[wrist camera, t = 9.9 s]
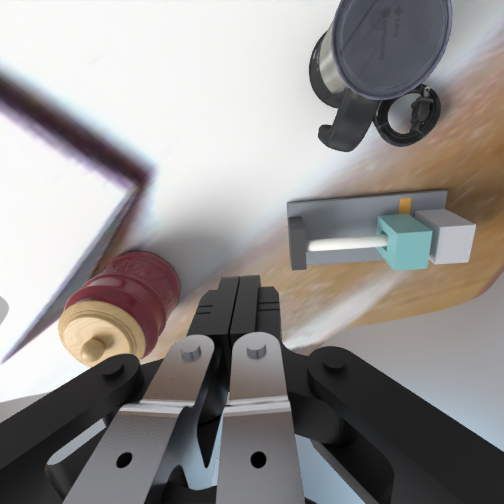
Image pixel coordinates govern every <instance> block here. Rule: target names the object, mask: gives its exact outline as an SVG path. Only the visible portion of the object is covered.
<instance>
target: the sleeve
mask: <svg viewBox="0 0 504 504" xmlns="http://www.w3.org/2000/svg"><path fill="white" fill-rule="evenodd" d="M432 232H433V231H432V230H430V229H429V228H428V227H426V226H425V225H423V224H422V223H420V222H419V221H417V220H416V219H414V218H413V217H412V216H410V215H409V214H394V215H381V216H378V218H377V232H376V235H385V234H387V235H388V242H387V246H384V247H375V248H376V249H377V251H378V252H379V253H380V254H381V256H382V257H383V258H384V259H385V261H386V262H387V263H388V264H389V266H390V267H391V268H392V269H393V270H394V271H396V270H413V269H427V265H428V258H429V252H430V245H431V238H432Z"/></svg>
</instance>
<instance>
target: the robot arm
mask: <svg viewBox="0 0 504 504" xmlns="http://www.w3.org/2000/svg"><path fill="white" fill-rule="evenodd" d="M228 392H230V396H229V405H226V402H227V396H228ZM101 418H102V419H103V421H104V424H105V426H106V428H104V429H103V430H102V431H101V432H99V433H98V434H97V435H95V436H94V437H93V438H91V439H90V440H89V441H87V442H86V443H85V444H83V445H82V446H81V447H80V448H78V449H77V450H76V451H75V452H73V453H72V454H71V455H69V456H68V457H67V458H65V459H64V460H63V461H61V462H59V463H57V464H54V465H47V464H46V463H47V461H48V460H49V458H50V457H51V456H52V455H53V454H54V453H55V452H56V451H58V450H59V449H61V448H62V447H63V446H65V445H66V444H67V443H69V442H70V441H71V440H73V439H74V438H75V437H77V436H78V435H80V434H81V433H82V432H84V431H85V430H86V429H88V428H89V427H90V426H92V425H93V424H94V423H96V422H97V421H99V420H100V419H101ZM295 434H297V435H300V436H303V437H306V438H309V439H310V440H311V442H312V444H313V446H314V448H315V449H316V450H317V451H318V452H319V453H320V455H321V456H322V457H323V458H324V459H325V460H326V461H327V462H328V463H329V464H330V465H331V467H332V468H333V469H334V470H335V471H336V472H337V473H338V474H339V475H340V476H341V477H342V479H343V480H344V481H345V482H346V483H347V484H348V485H349V486H350V487H351V488H352V489H353V490H354V491H355V493H357V495H358V496H359V497H360V498H361V499H362V500H363V501H364V502H365V504H504V452H503V451H501V450H500V449H498V448H497V447H495V446H494V445H492V444H491V443H489V442H488V441H486V440H485V439H483V438H482V437H480V436H479V435H477V434H476V433H474V432H472V431H471V430H469V429H468V428H466V427H465V426H463V425H462V424H460V423H459V422H457V421H456V420H454V419H453V418H451V417H449V416H448V415H446V414H445V413H443V412H442V411H440V410H439V409H437V408H436V407H434V406H432V405H431V404H430V403H428V402H427V401H425V400H423V399H422V398H420V397H419V396H417V395H416V394H414V393H412V392H411V391H410V390H408V389H407V388H405V387H404V386H402V385H401V384H399V383H398V382H396V381H394V380H393V379H391V378H390V377H388V376H387V375H385V374H384V373H382V372H381V371H379V370H378V369H376V368H375V367H373V366H371V365H370V364H368V363H367V362H365V361H364V360H362V359H361V358H359V357H358V356H356V355H355V354H353V353H351V352H350V351H348V350H346V349H344V348H340V347H334V346H327V347H322V348H319V349H317V350H315V351H313V352H312V353H311V354H310V355H309V356H304V355H300V354H297V353H294V352H292V351H290V350H289V349H287V348H286V347H285V346H284V345H283V343H282V333H281V317H280V304H279V293H278V292H277V291H276V289H275V288H274V287H273V286H272V287H261V282H260V276H259V275H250V276H241V277H240V276H235V277H222V278H221V281H220V284H219V287H218V290H209V291H208V292H207V293H206V294H205V295H204V296H203V297H202V298H201V300H200V303H199V305H198V308H197V310H196V314H195V315H194V318H193V320H192V323H191V325H190V328H189V330H188V333H187V336H186V337H184V338H182V339H180V340H178V341H177V342H175V343H174V344H173V345H172V346H171V347H170V349H169V351H168V352H167V354H166V356H165V358H163V359H160V360H157V361H153V362H150V363H146V364H143V365H140V362H139V359H138V358H137V357H136V356H135V355H133V354H128V353H124V354H118V355H114V356H111V357H109V358H107V359H105V360H103V361H102V362H100V363H98V364H97V365H95V366H93V367H92V368H90V369H88V370H87V371H85V372H84V373H82V374H80V375H79V376H77V377H75V378H74V379H72V380H70V381H69V382H67V383H66V384H64V385H62V386H61V387H59V388H57V389H56V390H54V391H52V392H51V393H49V394H47V395H46V396H44V397H43V398H41V399H39V400H38V401H36V402H34V403H33V404H31V405H29V406H28V407H26V408H25V409H23V410H21V411H20V412H18V413H16V414H15V415H13V416H11V417H10V418H8V419H7V420H5V421H3V422H2V423H0V504H317V503H316V502H314V501H312V500H310V499H308V498H306V497H304V492H303V485H302V479H301V472H300V467H299V459H298V453H297V446H296V440H295ZM220 442H221V447H220V459H219V471H218V483H217V485H216V486H213V487H212V477H213V472H214V467H215V463H216V459H217V455H218V450H219V446H220Z"/></svg>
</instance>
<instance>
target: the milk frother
mask: <svg viewBox="0 0 504 504" xmlns="http://www.w3.org/2000/svg"><path fill="white" fill-rule="evenodd" d="M451 25H452V7H451V0H341V2H340V4H339V6H338V9H337V11H336V14H335V17H334V20H333V22H332V24H331V25H330V27H329V29H328V30H327V31H326V32H325V33H324V34H323V35H322V37H321V38H320V39H319V41H318V42H317V44H316V46H315V47H314V50H313V52H312V55H311V59H310V64H309V77H310V82H311V86H312V88H313V90H314V92H315V94H316V95H317V96H318V98H319V99H320V100H321V101H322V102H324V103H325V104H327V105H329V106H331V107H334V108H339V109H338V111H337V115H336V117H335V120H334V122H333V125H321V126H320V128H319V132H318V138H319V139H320V140H321V142H322V143H324V144H325V145H326V146H327V147H329V148H332V149H334V150H338V151H343V152H350V151H352V150H354V149H355V148H356V147H357V146H358V145H359V143H360V142H361V141H362V139H363V138H364V136H365V134H366V132H367V131H368V129H369V127H370V125H371V122H372V121H373V123H374V125H375V127H376V129H377V130H378V132H379V134H380V135H381V137H382V138H383V139H384V140H385V141H386V142H388V143H389V144H391V145H394V146H399V147H404V146H409V145H412V144H414V143H416V142H417V141H419V140H421V139H423V138H424V137H425V136H426V135H427V134H428V133H429V132H430V131H431V130H432V129H433V128H434V127H435V125H436V123H437V121H438V119H439V116H440V111H441V104H440V100H439V98H438V95H437V94H436V92H435V91H434V90H433V89H431V88H430V86H427V85H424V84H421V83H422V82H423V81H424V80H425V79H426V78H427V77H428V76H429V75H430V74H431V73H432V72H433V70H434V69H435V68H436V66H437V64H438V63H439V61H440V60H441V58H442V56H443V54H444V52H445V49H446V46H447V43H448V40H449V36H450V32H451ZM410 93H419V94H421V96H422V98H421V97H419V98H418V99H416V101H415V102H414V103H413V104H412V105H411V108H413V111H412V120H411V123H412V127H411V129H410V132H409V133H406V134H400V133H397V132H396V131H394V130H393V129H392V128H391V126H390V125H389V122H388V111H389V109H390V106H391V105H392V104H393V102H394V101H395V100H397V99H398V98H400V97H401V96H403V95H406V94H410ZM381 100H383V101H382V103H381V106H380V108H379V110H378V116H376V110H377V108H378V106H379V103H380V101H381ZM429 108H430V111H429V115H428V117H427V119H426V115H427V112H428V110H429ZM423 122H424V124H422V123H423Z"/></svg>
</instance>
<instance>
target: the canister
mask: <svg viewBox="0 0 504 504" xmlns="http://www.w3.org/2000/svg"><path fill="white" fill-rule="evenodd" d="M179 294H180V283H179V279H178V276H177V274H176V272H175V271H174V269H173V268H172V267H171V266H170V265H169V264H168V263H167V262H166V261H165V260H163V259H162V258H160V257H159V256H157V255H155V254H152V253H149V252H144V251H131V252H127V253H124V254H122V255H119V256H117V257H116V258H114V259H113V260H112V261H110V262H109V263H108V264H107V265H106V266H105V268H104V269H103V270H102V271H101V272H100V273H99V274H97V275H96V276H95V277H94V278H92V279H90V280H89V281H88V282H87V283H86V284H85V285H84V286H83V287H82V289H80V290H78V291H77V292H75V293H74V294H73V295H72V296H71V297H70V298H69V299H68V301H67V303H66V305H65V308H64V313H63V314H62V316H61V317H60V320H59V324H58V331H59V336H60V339H61V341H62V343H63V345H64V346H65V348H66V349H67V350H68V352H69V353H70V354H71V355H72V356H73V357H74V358H76V359H77V360H78V361H79V362H81V363H83V364H84V365H86V366H89V367H91V368H92V367H93V366H95V365H97V364H98V363H100V362H102V361H103V360H105V359H107V358H109V357H111V356H114V355H118V354H124V353H128V354H133V355H135V356H136V357H137V358H138V359H139V361H140V360H141V359H143V358H144V357H146V356H147V355H149V354H150V353H151V352H152V350H153V349H154V348H155V346H156V344H157V341H158V337H159V336H160V335H161V333H162V332H163V330H164V328H165V325H166V322H167V320H168V318H169V316H170V314H171V313H172V312H173V310H174V309H175V307H176V305H177V303H178V300H179Z"/></svg>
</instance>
